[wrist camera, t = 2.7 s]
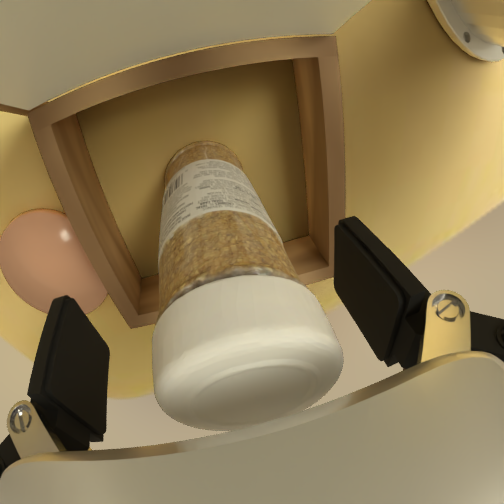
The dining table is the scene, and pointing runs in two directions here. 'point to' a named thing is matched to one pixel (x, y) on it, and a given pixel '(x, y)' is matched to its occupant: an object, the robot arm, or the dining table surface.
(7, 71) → the frame lid
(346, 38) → the dining table surface
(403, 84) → the dining table surface
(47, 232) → the saucer
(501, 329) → the robot arm
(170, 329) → the sprinkles bottle
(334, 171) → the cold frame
